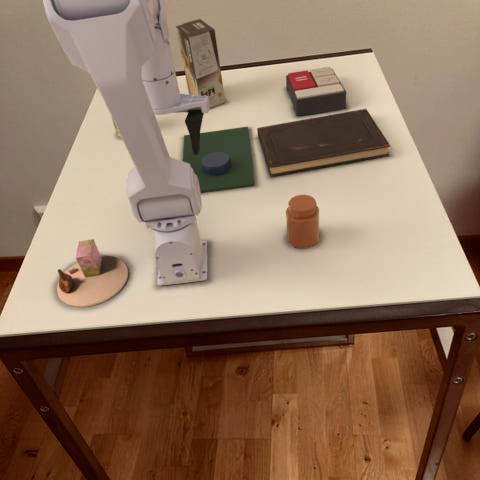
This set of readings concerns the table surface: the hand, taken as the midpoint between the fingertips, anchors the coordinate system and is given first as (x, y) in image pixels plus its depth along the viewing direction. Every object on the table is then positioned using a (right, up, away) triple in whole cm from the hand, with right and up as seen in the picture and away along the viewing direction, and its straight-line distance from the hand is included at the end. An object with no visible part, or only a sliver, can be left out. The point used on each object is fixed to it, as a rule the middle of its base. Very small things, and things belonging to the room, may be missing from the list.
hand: (175, 152), depth 89 cm
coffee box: (+3, +24, +34) cm, 41 cm away
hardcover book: (+27, +6, +14) cm, 31 cm away
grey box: (+28, +21, +27) cm, 45 cm away
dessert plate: (-13, -23, -5) cm, 27 cm away
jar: (+22, -16, -5) cm, 27 cm away
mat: (+7, +3, +15) cm, 16 cm away
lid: (+7, +2, +10) cm, 12 cm away
